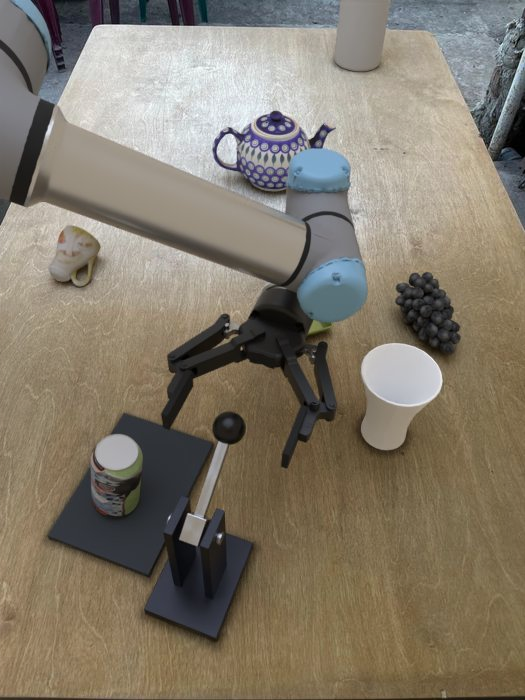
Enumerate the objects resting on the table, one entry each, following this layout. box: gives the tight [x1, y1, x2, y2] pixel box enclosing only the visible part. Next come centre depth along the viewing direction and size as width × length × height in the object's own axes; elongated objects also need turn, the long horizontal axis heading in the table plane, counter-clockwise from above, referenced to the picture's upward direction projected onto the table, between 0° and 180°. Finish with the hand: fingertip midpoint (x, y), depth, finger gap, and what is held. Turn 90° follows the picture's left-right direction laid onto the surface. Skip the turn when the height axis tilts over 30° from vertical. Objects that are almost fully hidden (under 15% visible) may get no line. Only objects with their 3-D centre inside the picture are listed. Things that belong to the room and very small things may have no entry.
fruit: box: [394, 271, 461, 356], centre depth 101 cm, size 9×8×15 cm
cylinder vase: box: [333, 0, 392, 72], centre depth 158 cm, size 12×12×25 cm
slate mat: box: [46, 412, 214, 578], centre depth 83 cm, size 14×20×1 cm
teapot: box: [211, 110, 337, 192], centre depth 126 cm, size 25×15×15 cm, turn 98°
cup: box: [360, 342, 443, 451], centre depth 85 cm, size 10×10×14 cm
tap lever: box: [179, 410, 247, 547], centre depth 66 cm, size 14×4×4 cm, turn 160°
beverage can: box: [90, 434, 143, 518], centre depth 77 cm, size 6×7×12 cm
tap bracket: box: [143, 495, 254, 643], centre depth 70 cm, size 12×9×16 cm
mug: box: [48, 224, 102, 287], centre depth 109 cm, size 8×10×10 cm
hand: (223, 441), depth 66 cm, fingers open, 13 cm apart
